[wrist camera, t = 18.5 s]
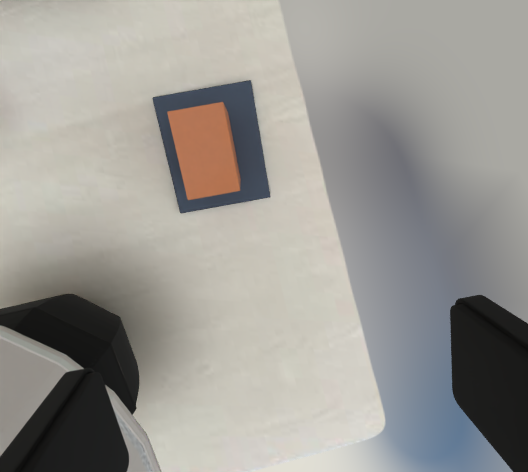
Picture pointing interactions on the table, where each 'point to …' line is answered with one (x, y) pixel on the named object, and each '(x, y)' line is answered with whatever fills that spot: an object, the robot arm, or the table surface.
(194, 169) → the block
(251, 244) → the table surface
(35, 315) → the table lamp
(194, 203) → the mat
